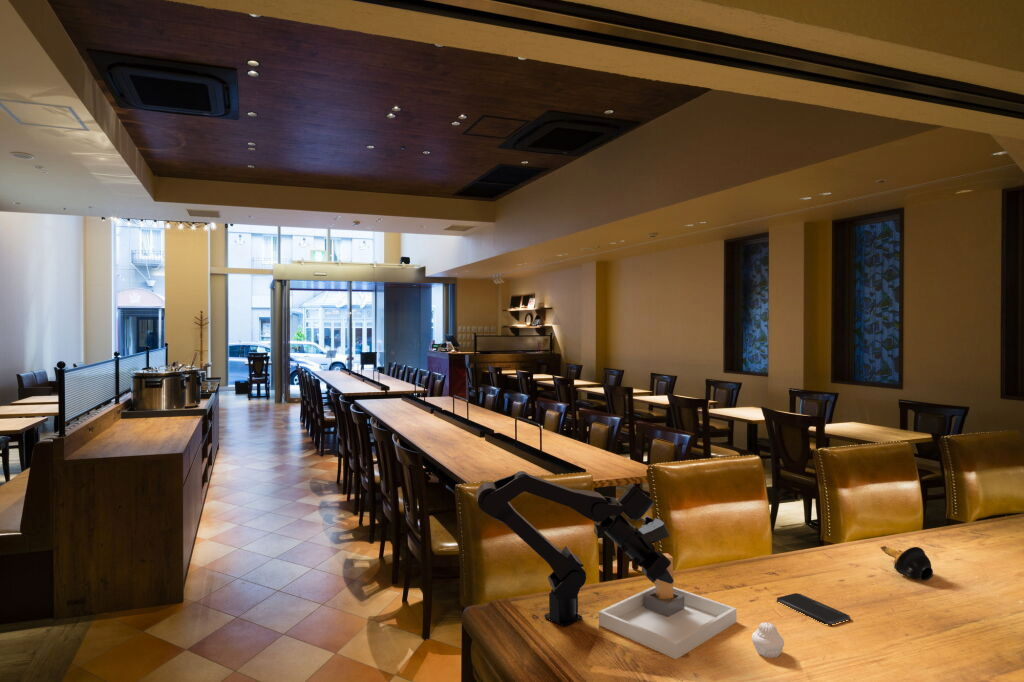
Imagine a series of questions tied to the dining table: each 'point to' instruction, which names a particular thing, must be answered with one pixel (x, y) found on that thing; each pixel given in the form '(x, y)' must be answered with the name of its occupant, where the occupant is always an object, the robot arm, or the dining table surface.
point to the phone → (813, 609)
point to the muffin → (767, 640)
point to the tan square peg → (665, 584)
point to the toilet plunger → (911, 562)
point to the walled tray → (668, 620)
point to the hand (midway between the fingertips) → (669, 579)
